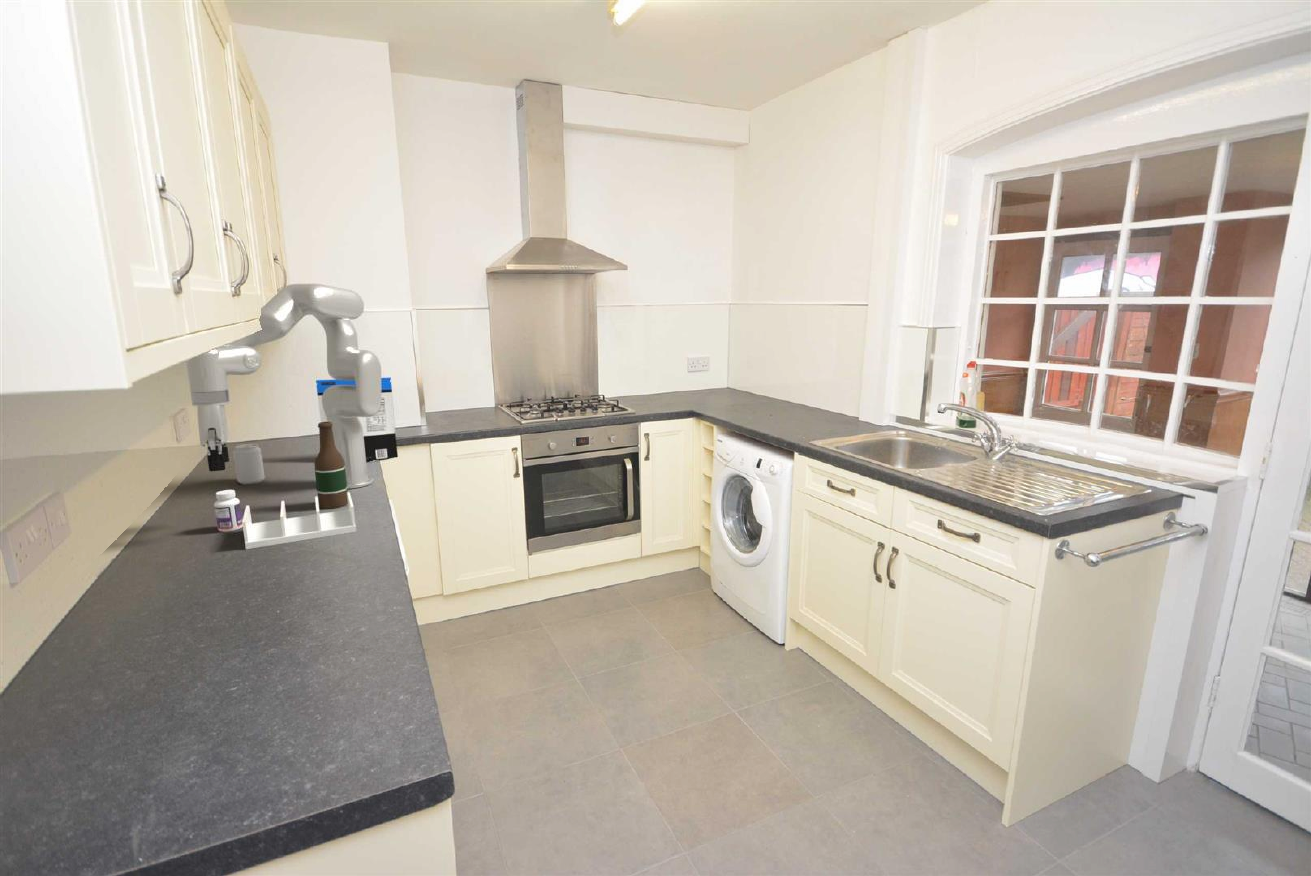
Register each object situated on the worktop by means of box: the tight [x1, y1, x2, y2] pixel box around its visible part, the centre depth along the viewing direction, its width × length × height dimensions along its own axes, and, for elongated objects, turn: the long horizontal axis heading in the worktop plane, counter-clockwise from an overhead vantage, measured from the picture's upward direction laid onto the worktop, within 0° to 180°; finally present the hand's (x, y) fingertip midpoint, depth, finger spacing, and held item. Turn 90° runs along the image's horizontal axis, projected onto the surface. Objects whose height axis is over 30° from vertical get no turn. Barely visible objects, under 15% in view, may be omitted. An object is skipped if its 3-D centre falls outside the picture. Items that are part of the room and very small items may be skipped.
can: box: [232, 443, 265, 485], centre depth 199 cm, size 8×8×12 cm
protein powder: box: [315, 377, 399, 463], centre depth 225 cm, size 10×24×30 cm, turn 111°
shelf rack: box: [242, 491, 357, 550], centre depth 156 cm, size 15×23×6 cm, turn 120°
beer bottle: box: [314, 421, 349, 510], centre depth 174 cm, size 8×8×24 cm
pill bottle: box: [213, 489, 243, 533], centre depth 157 cm, size 5×5×10 cm
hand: (219, 466), depth 154 cm, fingers open, 9 cm apart
